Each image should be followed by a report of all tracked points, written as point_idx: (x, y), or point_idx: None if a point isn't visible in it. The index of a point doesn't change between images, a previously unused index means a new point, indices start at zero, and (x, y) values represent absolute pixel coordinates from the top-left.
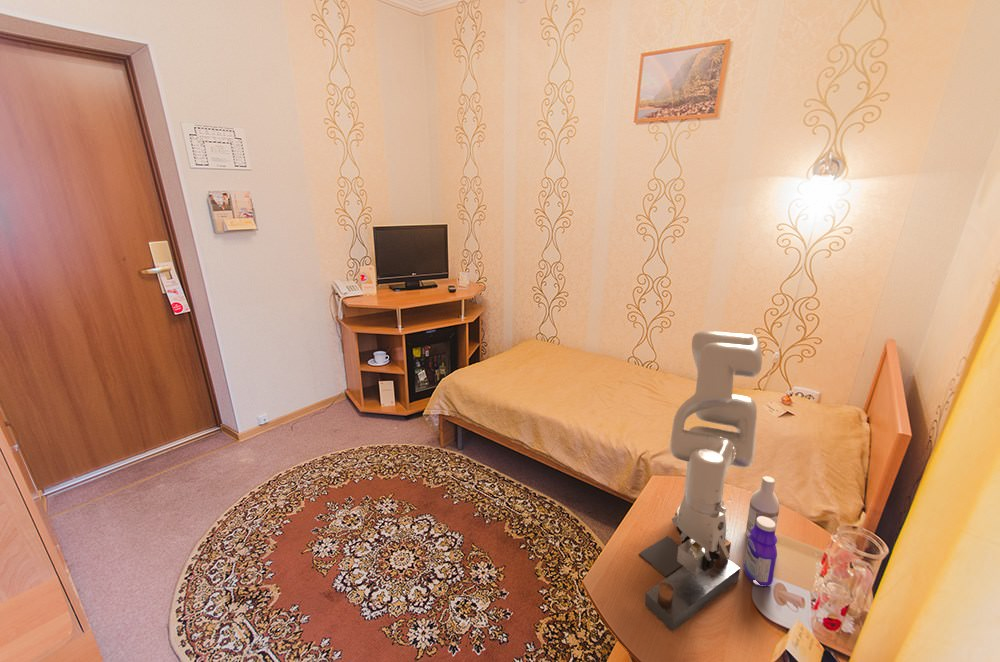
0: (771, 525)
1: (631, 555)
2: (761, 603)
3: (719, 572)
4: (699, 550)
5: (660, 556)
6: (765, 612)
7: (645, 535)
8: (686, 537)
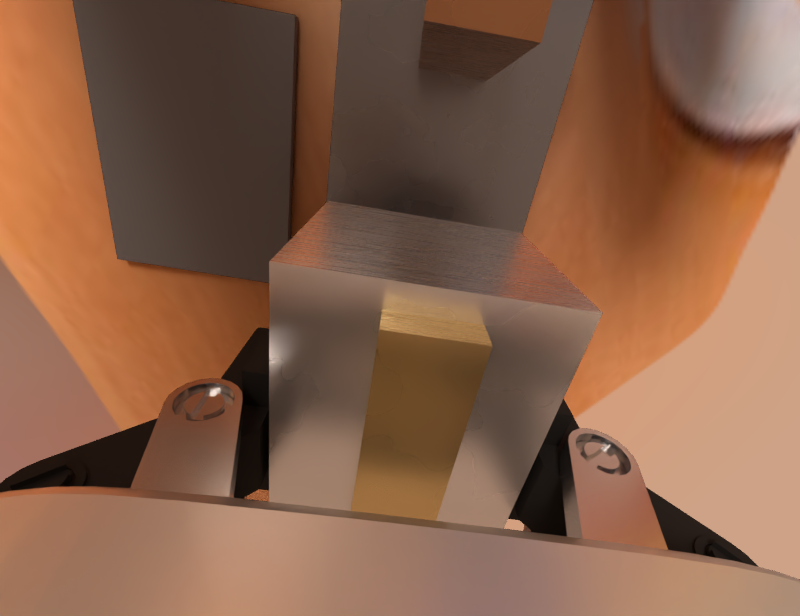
0: None
1: (113, 286)
2: (704, 57)
3: (499, 122)
4: (440, 509)
5: (187, 195)
6: (724, 106)
7: (14, 94)
8: (237, 488)
